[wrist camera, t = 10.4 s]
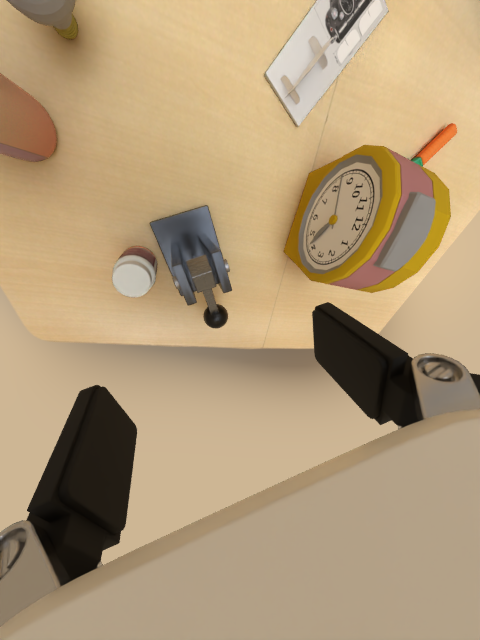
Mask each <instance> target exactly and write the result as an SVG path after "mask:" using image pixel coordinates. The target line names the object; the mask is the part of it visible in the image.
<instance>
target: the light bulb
mask: <svg viewBox="0 0 480 640" xmlns="http://www.w3.org/2000/svg"><path fill="white" fill-rule="evenodd" d="M7 1H8V2H9V3H10V4H11V5H12V6H14V7H15V8H16V9H17V10H19V11H20V12H21V13H23V14H24V15H25V16H27V17H28V18H30V19H31V20H33V21H35V22H37V23H40V24H43V25H48V26H53V27H54V28H55V30H56V31H57V32H58V33H59V34H60V35H61V36H62V37H64V38H66V39H74V38H75V37H76V36H77V33H78V26H77V22H76V20H75V18H74V16H73V14H72V12H73V9H74V5H75V0H7Z"/></svg>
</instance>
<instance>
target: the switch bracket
mask: <svg viewBox="0 0 480 640" xmlns="http://www.w3.org/2000/svg"><path fill="white" fill-rule="evenodd" d="M150 225H151V228H152V230H153V232H154V234H155V237H156V239H157V241H158V244H159V246H160V248H161V251H162V253H163V255H164V258H165V260H166V262H167V265H168V267H169V269H170V272H171V274H172V276H173V281H174V284H175V286H176V288H177V289H178V290H179V293H180V295H181V296H183V295H184V298H185V300H186V302H187V305H191V304H194V303H197V301H196V297H195V294H194V292H195V291H197V290H196V287H195V285H194V283H193V280H192V278H191V275H190V272H189V269H188V266H187V263H186V261H187V260H190V259H193V258H196V257H199V256H202V255H206V257H207V259H208V262H209V264H210V266H211V269H212V272H213V275H214V279H215V283H216V284H219V286H220V288H221V289H222V291H223V293H226V292H229V291H232V288H231V284H230V281H229V277H228V274H227V272H230V269H229V265H228V263H227V261H226V259H225V260H223V257H222V253H221V250H220V247H219V243H218V240H217V236H216V233H215V229H214V226H213V222H212V219H211V215H210V212H209V209H208V206H207V205H205V206H202V207H199V208H195V209H192V210H189V211H185V212H182V213H179V214H175V215H172V216H169V217H165V218H162V219H159V220H155V221H152V222H150Z"/></svg>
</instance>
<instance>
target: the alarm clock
mask: <svg viewBox="0 0 480 640" xmlns="http://www.w3.org/2000/svg"><path fill="white" fill-rule="evenodd" d="M450 217H451V212H450V197H449V189H448V188H447V187H446V186H445V184H444V183H443V182H442V181H441V180H440V179H439V178H438V176H437V175H436V174H435V173H433V172H431V171H429V170H428V169H426V168H424V167H422V166H420V165H418V164H416V163H414V162H413V161H411V160H409V159H407V158H405V157H403V156H401V155H399V154H397V153H396V152H394V151H392V150H390V149H388V148H386V147H384V146H372V145H363V146H361V147H359V148H357V149H356V150H354V151H352V152H350V153H348V154H346V155H344V156H343V157H342V158H339V159H337V160H335V161H333V162H331V163H329V164H327V165H325V166H323V167H321V168H319V169H317V170H315V171H313V172H311V173H309V175H308V178H307V182H306V185H305V188H304V191H303V194H302V197H301V200H300V203H299V206H298V209H297V212H296V215H295V218H294V221H293V224H292V227H291V230H290V233H289V236H288V239H287V242H286V245H285V248H284V253H285V254H286V255H287V256H288V257H289V258H290V259H291V260H292V261H293V262H294V263H295V264H296V265H297V266H298V267H299V268H300V269H301V270H302V271H303V272H304V274H305V275H306V276H307V277H308V278H309V279H310V280H311V281H316V282H321V283H325V284H330V285H335V286H340V287H345V288H350V289H355V290H360V291H365V292H370V293H373V292H377V291H382V290H386V289H390V288H394V287H395V286H397V285H399V284H400V283H402V282H403V281H405V280H406V279H408V278H409V277H411V276H412V275H414V274H416V273H417V272H418V271H419V270H420V269H421V268H422V266H423V265H424V264H425V263H426V262H427V260H428V259H429V258H430V257H431V256H432V254H433V253H434V252H435V251H436V250H437V248H438V247H439V245H440V243H441V240H442V238H443V235H444V233H445V230H446V227H447V225H448V222H449V220H450Z"/></svg>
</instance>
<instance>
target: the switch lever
mask: <svg viewBox="0 0 480 640" xmlns="http://www.w3.org/2000/svg"><path fill="white" fill-rule="evenodd" d="M186 263H187V266H188V269H189V272H190V275H191V278H192V280H193V283H194V285H195V287H196V290H197V292H198V293H199V292H202V291H203V294H204V297H205V299H206V302H207V305H208V307H207V308H206V310H205V311H204V321H205V323H206V324H207V325H208V326H209V327H212V328H220V327H222V326H224V325H225V323H226V322H227V319H228V313H227V310H226V309H225V308H224V307H223V306H222V305H219V304H216V302H215V298H214V295H213V292H212V288H214V287H216V283H215V279H214V275H213V272H212V269H211V266H210V264H209V262H208V259H207V257H206V255H202V256H199V257H196V258H193V259H190V260H187V261H186Z"/></svg>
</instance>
